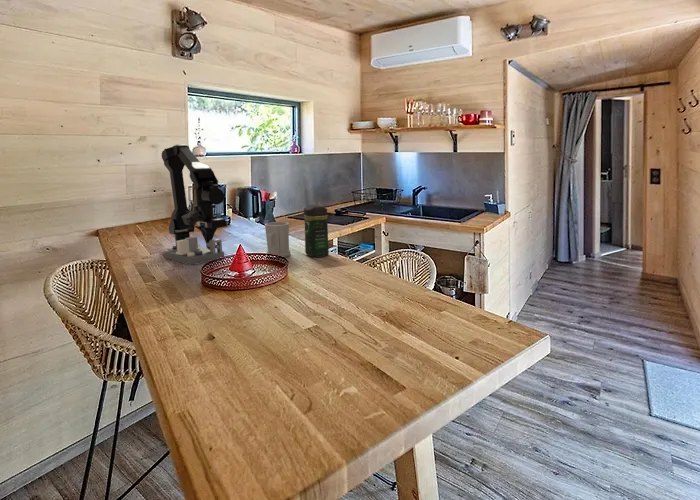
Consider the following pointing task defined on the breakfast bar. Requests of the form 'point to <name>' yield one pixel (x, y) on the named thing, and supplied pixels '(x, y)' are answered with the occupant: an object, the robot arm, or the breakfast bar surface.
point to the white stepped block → (193, 244)
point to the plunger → (209, 246)
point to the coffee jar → (316, 231)
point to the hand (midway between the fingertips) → (208, 244)
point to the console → (198, 254)
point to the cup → (278, 238)
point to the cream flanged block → (182, 247)
